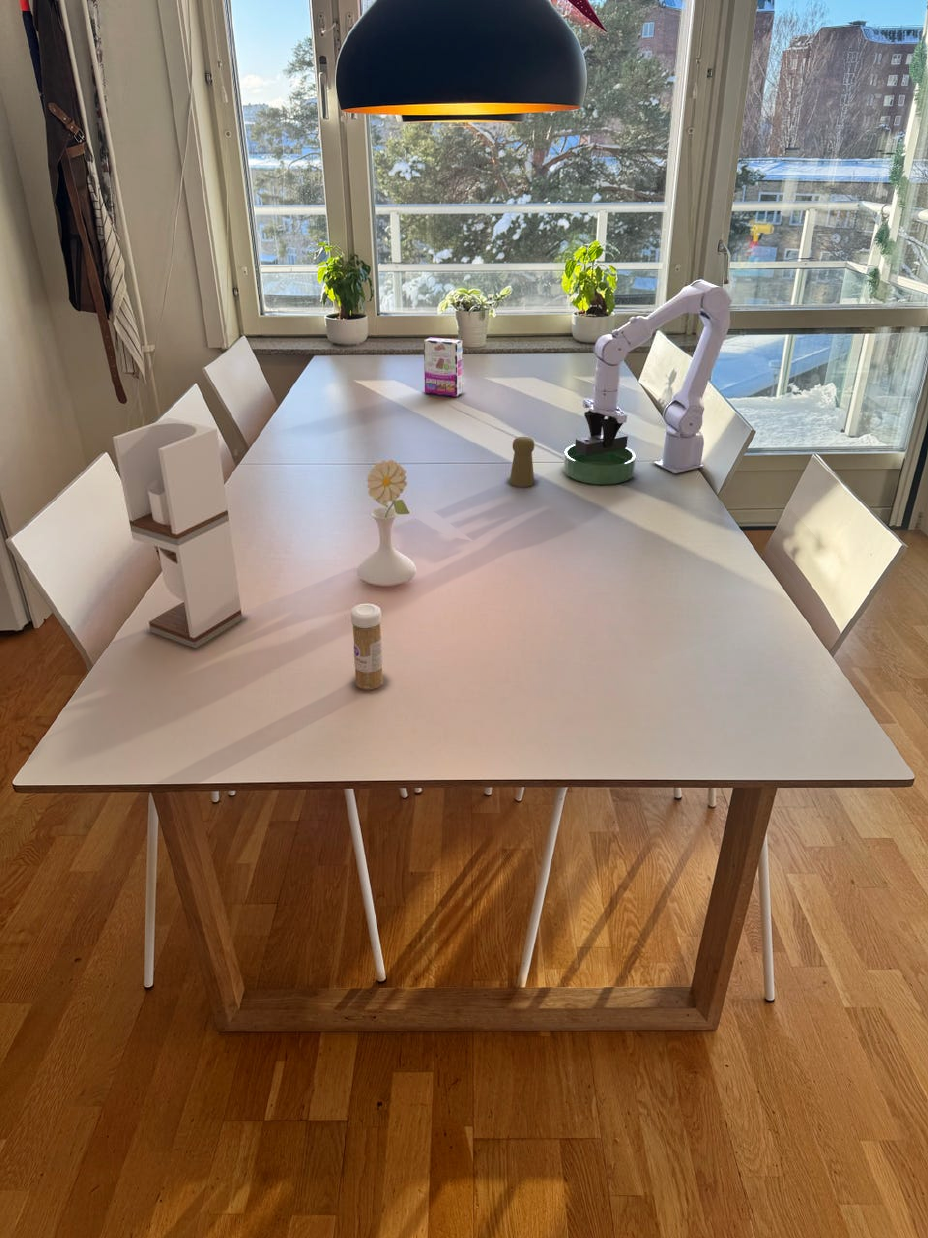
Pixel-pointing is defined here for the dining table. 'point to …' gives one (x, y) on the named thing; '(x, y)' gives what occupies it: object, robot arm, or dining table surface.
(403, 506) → the flower in vase
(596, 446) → the remote
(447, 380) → the candy bar box
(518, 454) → the cork
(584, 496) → the dining table surface
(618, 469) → the bowl
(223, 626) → the white tiered shelf stand
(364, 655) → the sprinkles bottle
